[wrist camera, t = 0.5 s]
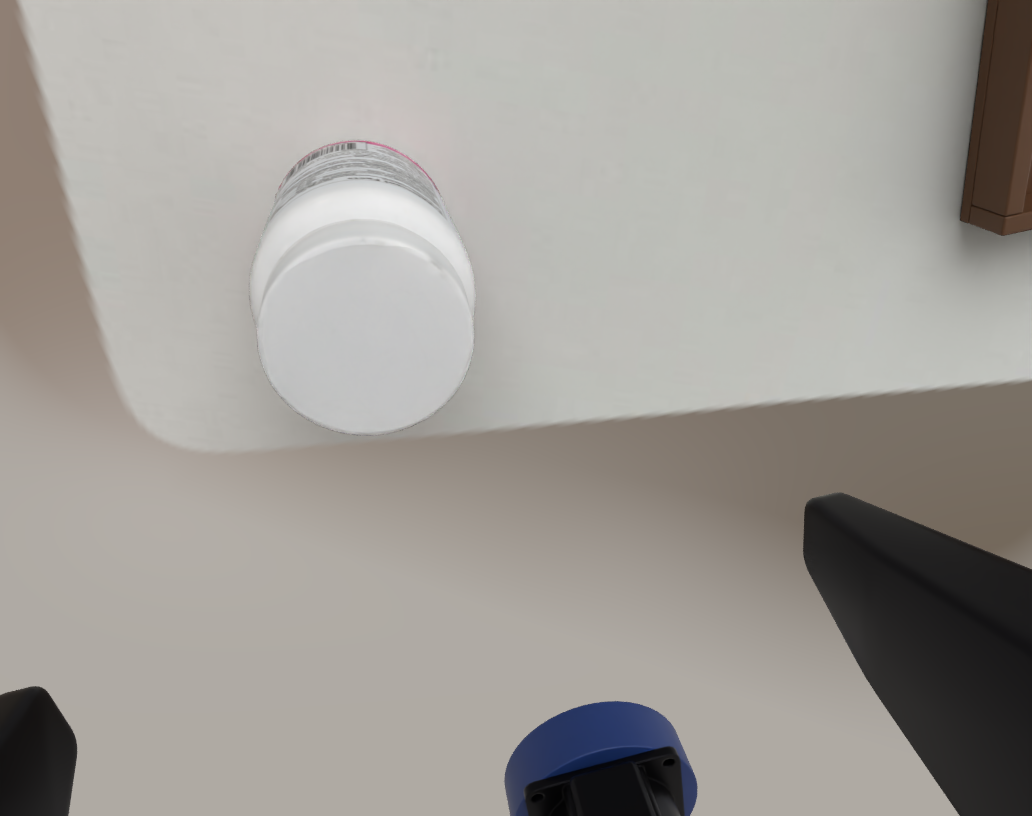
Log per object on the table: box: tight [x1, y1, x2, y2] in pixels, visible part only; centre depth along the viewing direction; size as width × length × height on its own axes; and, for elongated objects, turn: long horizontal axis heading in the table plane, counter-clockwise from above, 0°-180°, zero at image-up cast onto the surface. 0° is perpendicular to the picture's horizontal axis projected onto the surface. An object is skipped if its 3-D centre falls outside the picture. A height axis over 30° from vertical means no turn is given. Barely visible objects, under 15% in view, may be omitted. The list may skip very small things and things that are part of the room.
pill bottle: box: [249, 140, 476, 436], centre depth 18 cm, size 5×5×8 cm
